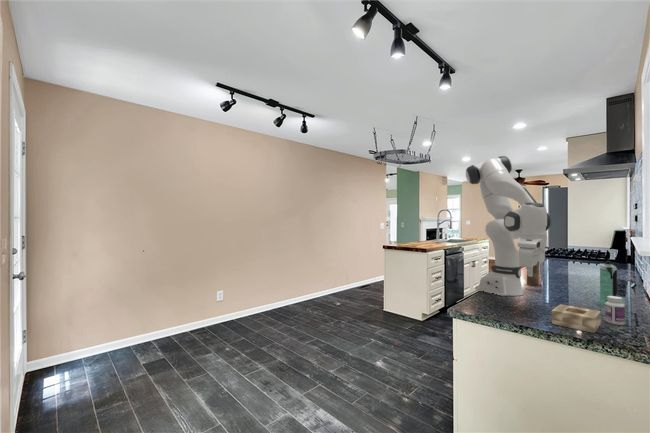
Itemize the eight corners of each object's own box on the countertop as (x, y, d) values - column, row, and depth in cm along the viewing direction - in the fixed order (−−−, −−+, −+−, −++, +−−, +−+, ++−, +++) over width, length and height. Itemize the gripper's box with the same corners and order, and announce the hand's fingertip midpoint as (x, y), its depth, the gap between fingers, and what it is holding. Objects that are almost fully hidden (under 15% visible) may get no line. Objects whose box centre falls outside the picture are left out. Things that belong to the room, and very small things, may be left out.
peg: (525, 285, 123) (525, 261, 123) (528, 283, 126) (528, 260, 126) (536, 287, 120) (537, 262, 120) (539, 285, 123) (540, 261, 122)
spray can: (620, 308, 129) (620, 262, 129) (606, 307, 130) (605, 261, 130) (611, 304, 135) (610, 260, 135) (597, 303, 136) (596, 260, 136)
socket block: (551, 323, 112) (551, 310, 112) (560, 316, 119) (560, 304, 119) (594, 333, 103) (594, 318, 103) (600, 324, 110) (600, 311, 110)
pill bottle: (625, 322, 112) (625, 297, 112) (624, 326, 108) (624, 299, 108) (605, 319, 116) (605, 294, 116) (604, 322, 112) (604, 297, 112)
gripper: (532, 239, 132) (531, 270, 132) (515, 243, 118) (515, 277, 119) (549, 240, 127) (549, 273, 127) (534, 244, 114) (533, 280, 114)
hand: (532, 275), depth 123 cm, fingers closed on peg, 4 cm apart
